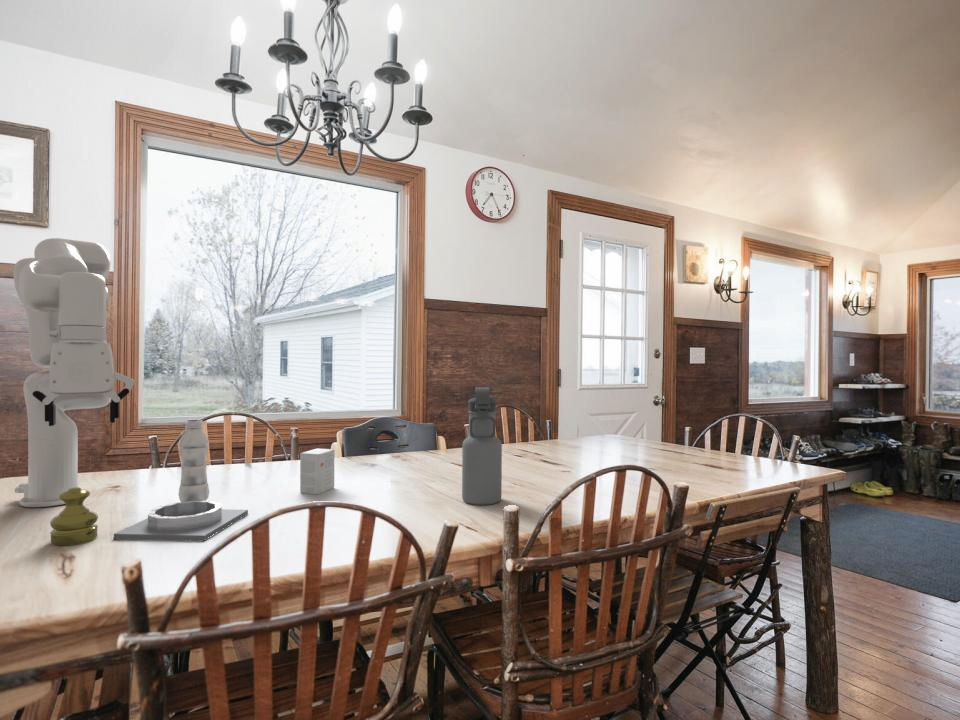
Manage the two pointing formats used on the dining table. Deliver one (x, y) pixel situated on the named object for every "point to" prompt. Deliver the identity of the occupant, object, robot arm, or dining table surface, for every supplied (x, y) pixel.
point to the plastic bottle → (193, 463)
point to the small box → (316, 471)
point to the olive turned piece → (74, 520)
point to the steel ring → (165, 522)
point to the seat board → (201, 533)
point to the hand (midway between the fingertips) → (83, 423)
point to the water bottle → (482, 453)
